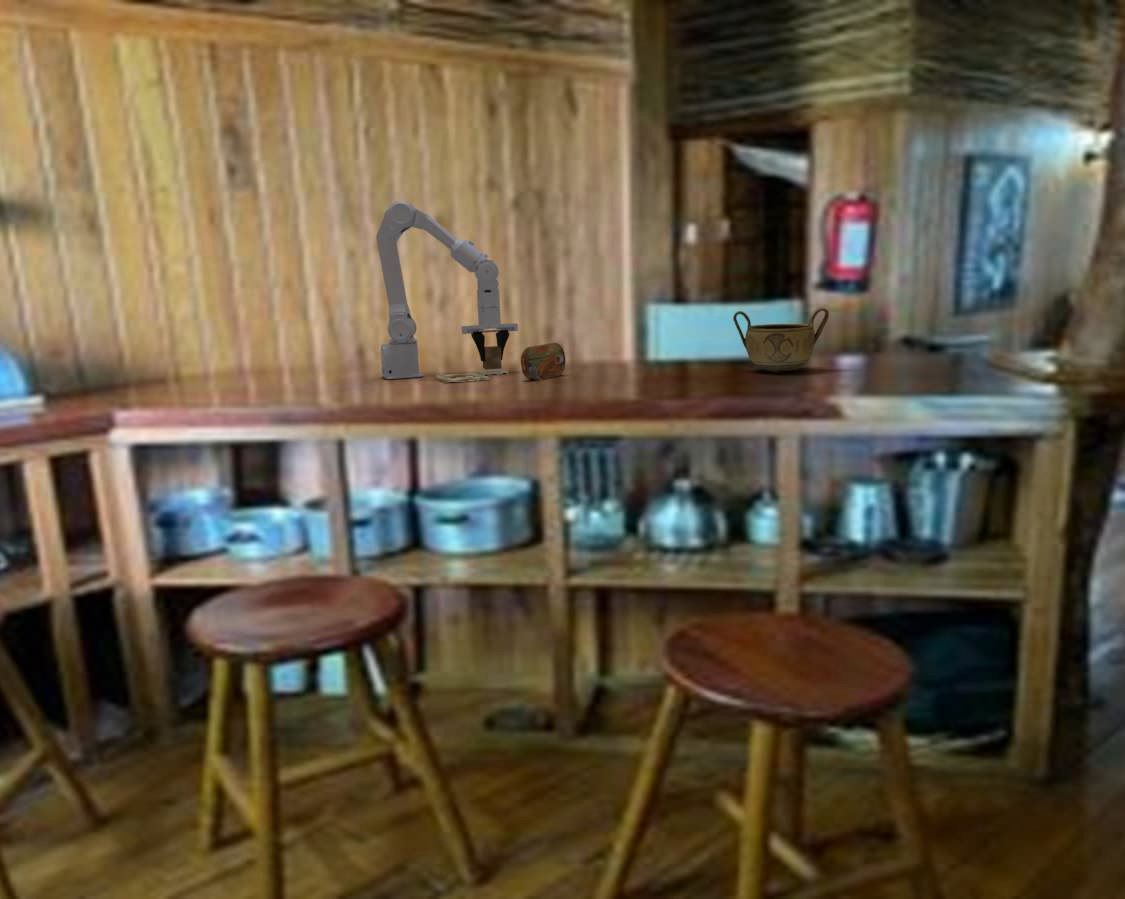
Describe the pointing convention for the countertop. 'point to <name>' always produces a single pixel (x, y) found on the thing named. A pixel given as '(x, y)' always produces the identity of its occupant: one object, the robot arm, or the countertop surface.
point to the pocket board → (448, 378)
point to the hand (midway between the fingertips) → (491, 360)
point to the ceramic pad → (492, 372)
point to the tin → (543, 361)
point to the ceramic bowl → (780, 342)
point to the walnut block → (492, 358)
